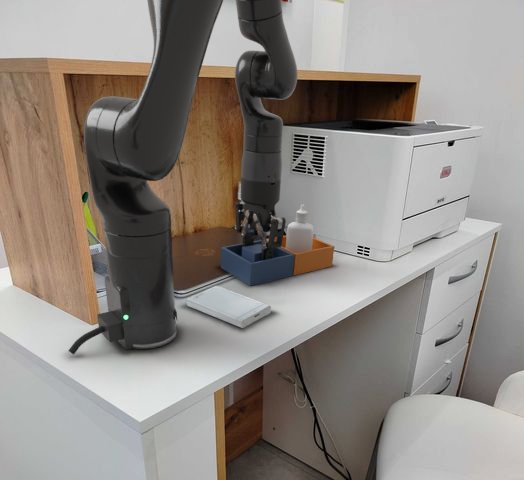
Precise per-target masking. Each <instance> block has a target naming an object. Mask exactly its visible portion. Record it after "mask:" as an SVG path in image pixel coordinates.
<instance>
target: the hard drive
mask: <svg viewBox="0 0 524 480" xmlns="http://www.w3.org/2000/svg"><path fill="white" fill-rule="evenodd" d="M186 306H187V307H188V308H189V307H190V308H192V309H195V310H197V311H198V312H201V313H204V314H207V315H209V316H211V317H213V318H217V319H219V320H221V321H224V322H226V323H229V324H231V325H234V326H236V327H238V328H240V329H244V328H246V327H248V326H249V325H252V324H253V323H255V322H256V321H258V320H260V319H262V318H264V317H265V316H268V315H269V314H270V313H272V306H271V304H267V303H265V302H262V301H259V300H256V299H254V298H251V297H248V296H246V295H243V294H241V293H237V292H235V291H232V290H230V289H227V288H225V287H222V286H219V285H214V286H212V287H210V288H207V289H204V290H203V291H201V292H198V293H196V294H194V295H192V296H189V297H188V298H187V300H186Z"/></svg>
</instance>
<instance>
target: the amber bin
mask: <svg viewBox="0 0 524 480" xmlns="http://www.w3.org/2000/svg"><path fill="white" fill-rule="evenodd" d="M286 237H287V234H285V235H283V240H282V246H281V247H279V248H281V249H283V250H285V251H287V252H289V253H292V254H294V265H293V276H297V275H301V274H304V273H311V272H314V271H318V270H322V269H327V268H330V267H332V266H333V261H334V253H335V245H332V244H330V243H328V242H325V241H323V240H321V239H318V238H316V237H314V236H313V243H312V250H310V251H305V252H300V253H294V252H292V251H290V250H288V249H286ZM266 239H267V242H268V241H269V238H266ZM276 240H277V237H276V238H275V241H276Z"/></svg>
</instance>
